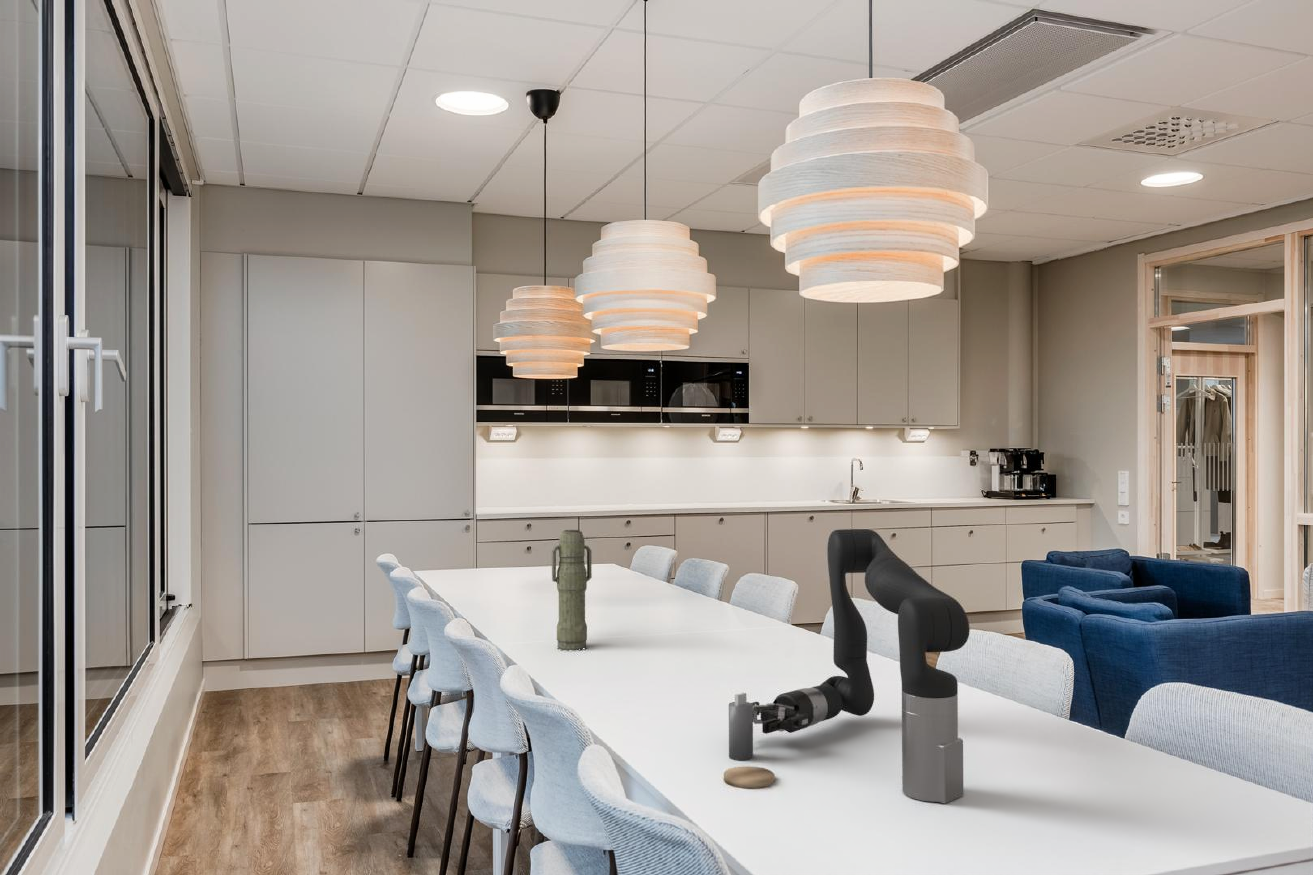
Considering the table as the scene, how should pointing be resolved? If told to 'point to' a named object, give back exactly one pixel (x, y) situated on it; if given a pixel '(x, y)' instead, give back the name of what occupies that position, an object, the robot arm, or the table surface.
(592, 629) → the table surface
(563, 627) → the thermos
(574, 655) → the table surface
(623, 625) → the table surface
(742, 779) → the coaster
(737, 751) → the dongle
